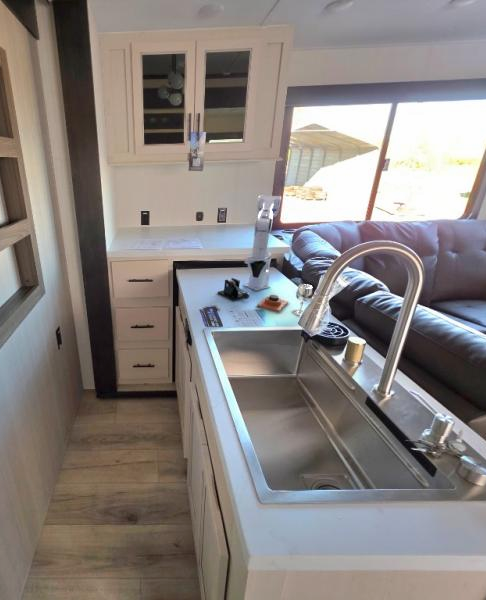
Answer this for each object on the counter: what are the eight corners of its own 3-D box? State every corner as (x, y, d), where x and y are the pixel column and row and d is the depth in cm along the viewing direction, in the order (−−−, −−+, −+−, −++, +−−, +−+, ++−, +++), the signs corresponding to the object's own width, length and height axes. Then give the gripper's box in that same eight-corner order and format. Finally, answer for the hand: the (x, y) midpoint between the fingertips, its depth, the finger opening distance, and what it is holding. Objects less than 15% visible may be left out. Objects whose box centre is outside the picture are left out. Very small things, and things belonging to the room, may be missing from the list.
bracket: (244, 298, 144) (246, 282, 141) (233, 301, 140) (235, 285, 137) (228, 291, 152) (230, 275, 148) (217, 293, 148) (219, 278, 145)
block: (267, 298, 143) (268, 292, 142) (287, 303, 138) (288, 297, 137) (257, 307, 135) (258, 300, 134) (278, 313, 130) (279, 306, 128)
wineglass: (300, 317, 126) (307, 289, 121) (288, 312, 130) (294, 285, 125) (310, 314, 128) (316, 287, 123) (298, 309, 133) (304, 282, 128)
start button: (270, 297, 138) (271, 293, 137) (279, 299, 136) (279, 296, 135) (267, 300, 135) (268, 296, 134) (276, 302, 133) (277, 298, 132)
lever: (249, 299, 139) (251, 294, 137) (244, 301, 137) (246, 295, 135) (231, 284, 146) (233, 279, 144) (226, 285, 145) (228, 280, 143)
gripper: (255, 251, 127) (251, 282, 133) (279, 246, 134) (273, 276, 140) (242, 247, 133) (238, 277, 138) (265, 243, 140) (261, 272, 145)
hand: (255, 276), depth 139 cm, fingers closed
